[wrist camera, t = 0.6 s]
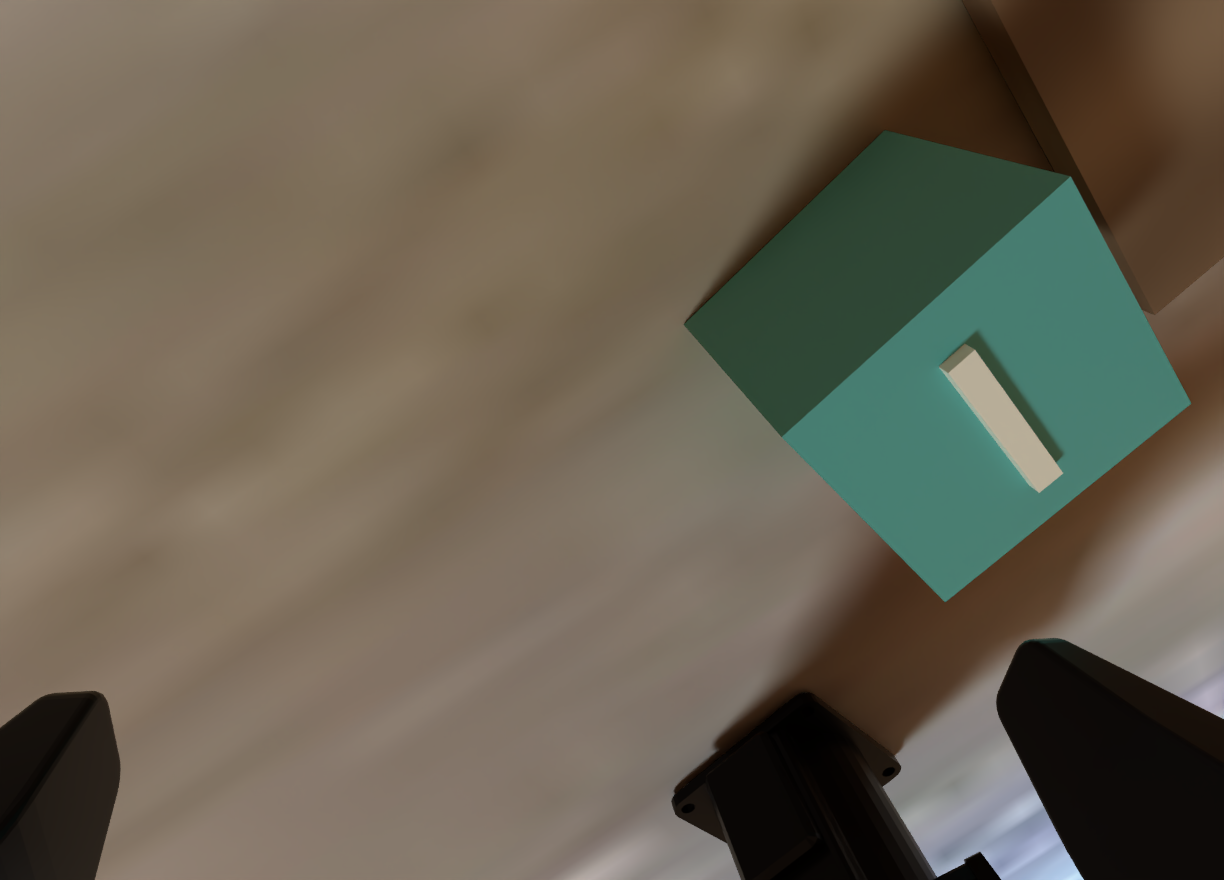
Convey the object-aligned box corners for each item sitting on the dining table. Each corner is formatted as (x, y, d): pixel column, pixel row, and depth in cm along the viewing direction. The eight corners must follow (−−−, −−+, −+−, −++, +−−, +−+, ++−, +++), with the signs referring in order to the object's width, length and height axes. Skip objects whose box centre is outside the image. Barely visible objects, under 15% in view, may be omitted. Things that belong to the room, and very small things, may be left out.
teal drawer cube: (1002, 309, 21) (1204, 409, 16) (823, 467, 22) (953, 611, 17) (884, 130, 18) (1084, 179, 13) (683, 324, 19) (788, 445, 14)
